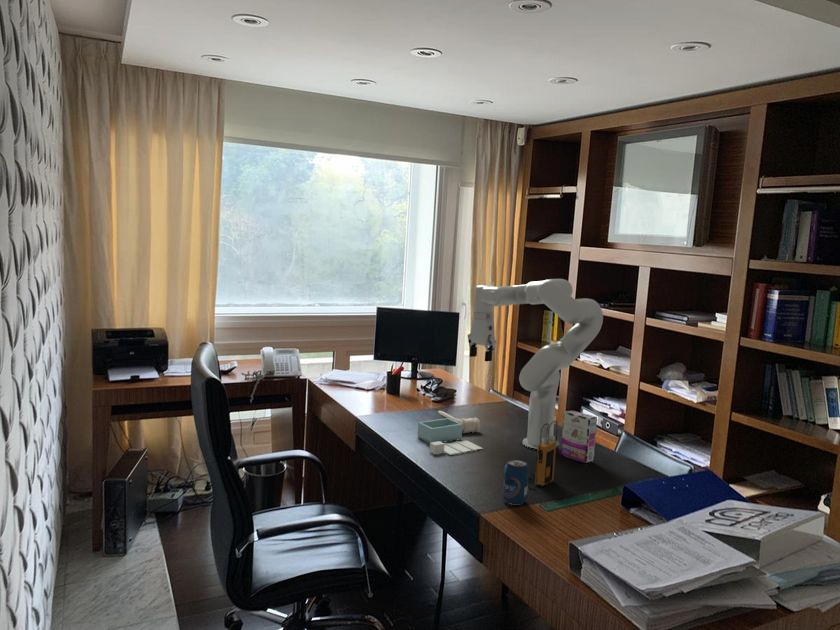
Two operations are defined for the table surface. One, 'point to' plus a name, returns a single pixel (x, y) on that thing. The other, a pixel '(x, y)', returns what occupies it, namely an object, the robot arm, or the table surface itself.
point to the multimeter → (545, 460)
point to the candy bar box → (578, 436)
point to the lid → (453, 447)
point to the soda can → (515, 481)
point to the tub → (439, 430)
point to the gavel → (465, 423)
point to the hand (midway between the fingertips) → (480, 358)
